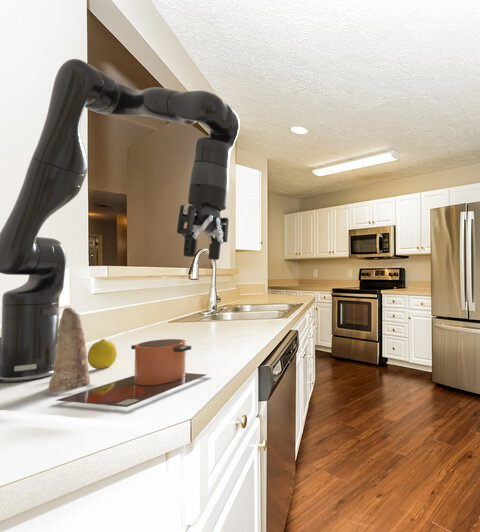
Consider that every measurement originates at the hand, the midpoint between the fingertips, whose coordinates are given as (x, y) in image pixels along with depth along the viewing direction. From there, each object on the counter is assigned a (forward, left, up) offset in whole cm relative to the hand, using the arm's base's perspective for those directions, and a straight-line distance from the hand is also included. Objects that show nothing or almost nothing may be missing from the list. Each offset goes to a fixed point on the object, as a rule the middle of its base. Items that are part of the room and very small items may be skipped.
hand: (202, 258), depth 76 cm
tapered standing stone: (-24, -8, -29) cm, 38 cm away
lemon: (-32, +5, -29) cm, 43 cm away
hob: (-10, -5, -28) cm, 30 cm away
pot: (-10, 0, -27) cm, 29 cm away
